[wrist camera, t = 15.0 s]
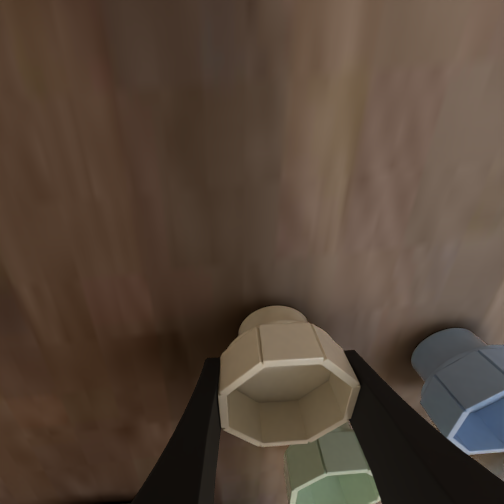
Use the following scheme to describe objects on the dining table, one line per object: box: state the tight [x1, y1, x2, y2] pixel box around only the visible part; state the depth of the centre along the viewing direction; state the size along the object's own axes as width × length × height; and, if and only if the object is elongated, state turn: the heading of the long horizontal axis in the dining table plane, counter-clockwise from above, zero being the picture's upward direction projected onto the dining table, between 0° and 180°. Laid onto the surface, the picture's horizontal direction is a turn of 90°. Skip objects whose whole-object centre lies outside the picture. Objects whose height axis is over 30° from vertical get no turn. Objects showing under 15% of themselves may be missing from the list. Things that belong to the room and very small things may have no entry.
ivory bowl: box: [218, 305, 361, 447], centre depth 11 cm, size 6×6×4 cm
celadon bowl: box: [284, 422, 381, 504], centre depth 15 cm, size 6×6×4 cm
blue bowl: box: [411, 328, 504, 455], centre depth 13 cm, size 6×6×4 cm
